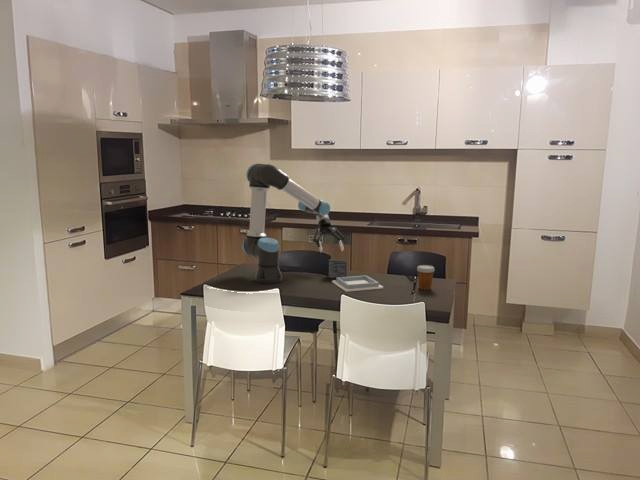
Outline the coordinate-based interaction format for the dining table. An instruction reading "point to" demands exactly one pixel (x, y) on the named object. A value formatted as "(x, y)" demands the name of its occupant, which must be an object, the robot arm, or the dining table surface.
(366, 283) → the tray
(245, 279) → the dining table surface
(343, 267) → the small box
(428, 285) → the pill bottle
